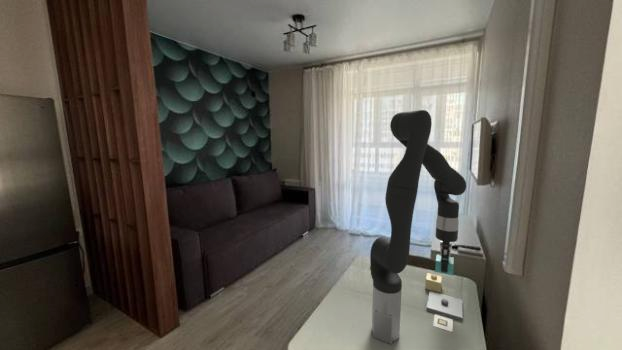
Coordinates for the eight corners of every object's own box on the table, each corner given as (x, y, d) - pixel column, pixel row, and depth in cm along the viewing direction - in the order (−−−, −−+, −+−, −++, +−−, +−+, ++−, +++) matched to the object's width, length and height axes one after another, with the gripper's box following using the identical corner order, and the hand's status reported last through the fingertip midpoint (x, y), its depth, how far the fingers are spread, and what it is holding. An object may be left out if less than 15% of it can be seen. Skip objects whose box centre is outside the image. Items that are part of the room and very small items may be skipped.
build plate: (462, 320, 92) (462, 315, 92) (426, 310, 98) (426, 304, 98) (462, 302, 102) (462, 297, 102) (429, 293, 108) (429, 288, 108)
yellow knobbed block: (440, 292, 109) (441, 280, 108) (425, 288, 112) (425, 277, 111) (441, 285, 114) (442, 274, 113) (426, 281, 117) (427, 270, 116)
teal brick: (452, 275, 95) (453, 261, 94) (435, 271, 98) (435, 258, 97) (452, 268, 100) (453, 255, 99) (435, 264, 103) (436, 252, 102)
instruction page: (452, 332, 87) (452, 331, 87) (433, 326, 90) (433, 325, 90) (452, 319, 93) (452, 319, 93) (434, 314, 96) (434, 313, 96)
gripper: (458, 235, 88) (455, 279, 91) (457, 222, 101) (455, 262, 103) (435, 231, 92) (432, 274, 94) (436, 220, 104) (434, 258, 107)
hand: (444, 267), depth 99 cm, fingers closed on teal brick, 6 cm apart
